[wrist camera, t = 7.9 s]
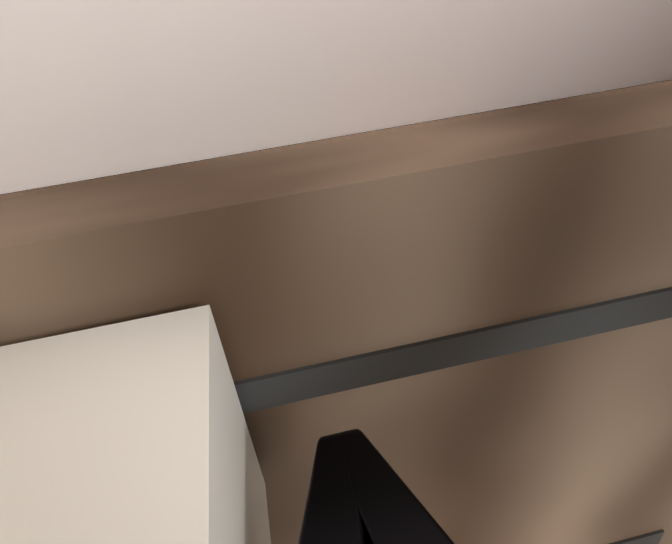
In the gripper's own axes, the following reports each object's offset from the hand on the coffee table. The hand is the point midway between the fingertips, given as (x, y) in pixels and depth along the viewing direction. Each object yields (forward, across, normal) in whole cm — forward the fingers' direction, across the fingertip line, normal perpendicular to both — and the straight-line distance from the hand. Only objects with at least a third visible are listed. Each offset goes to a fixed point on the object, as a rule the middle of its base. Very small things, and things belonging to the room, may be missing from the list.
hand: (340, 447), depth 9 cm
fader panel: (+4, -4, +6) cm, 8 cm away
